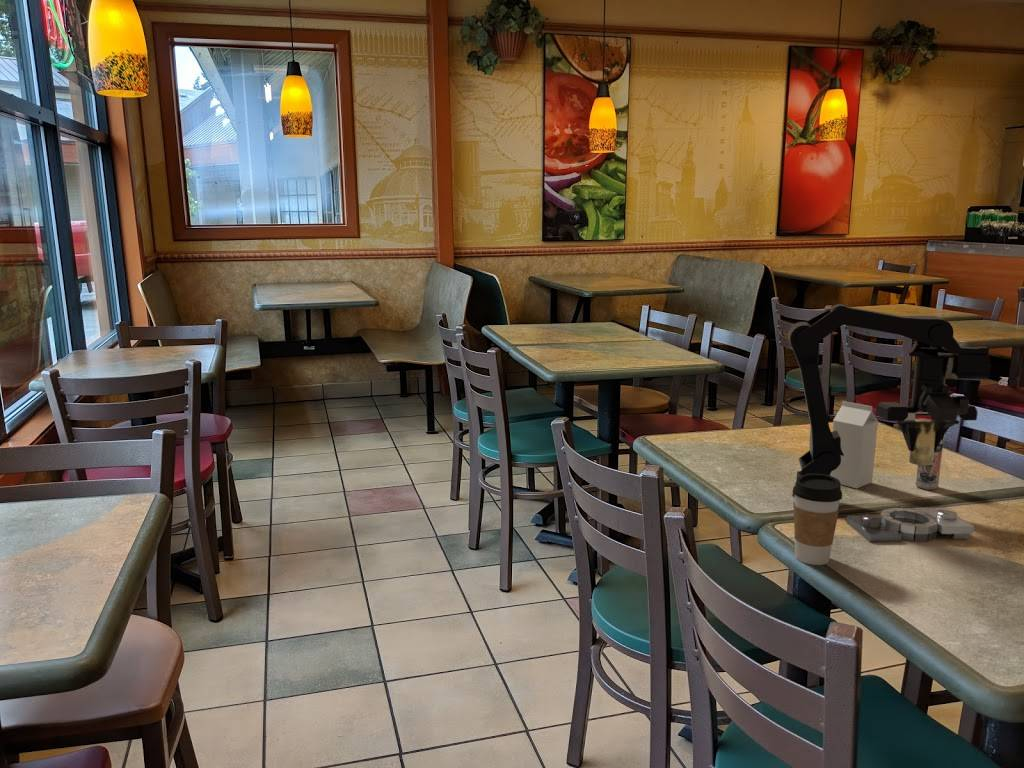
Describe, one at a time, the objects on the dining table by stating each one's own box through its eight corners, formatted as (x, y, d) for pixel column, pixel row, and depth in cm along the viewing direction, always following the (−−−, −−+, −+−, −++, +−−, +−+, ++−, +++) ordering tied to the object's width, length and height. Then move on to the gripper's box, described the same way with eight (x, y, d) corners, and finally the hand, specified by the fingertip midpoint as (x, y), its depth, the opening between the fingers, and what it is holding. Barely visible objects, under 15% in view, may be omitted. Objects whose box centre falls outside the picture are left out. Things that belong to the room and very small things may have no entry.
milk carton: (857, 489, 182) (864, 408, 178) (828, 481, 188) (834, 403, 184) (872, 483, 187) (879, 404, 183) (843, 475, 192) (850, 398, 188)
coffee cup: (843, 557, 146) (850, 479, 143) (826, 572, 140) (833, 491, 136) (798, 545, 151) (804, 469, 148) (780, 559, 145) (785, 480, 142)
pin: (915, 465, 165) (920, 423, 164) (905, 459, 170) (909, 418, 168) (936, 465, 166) (941, 423, 164) (925, 459, 170) (929, 418, 168)
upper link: (895, 541, 153) (897, 523, 152) (870, 522, 163) (872, 504, 162) (972, 540, 153) (974, 522, 152) (943, 521, 163) (945, 503, 162)
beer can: (914, 488, 183) (919, 438, 180) (914, 482, 187) (920, 433, 184) (937, 491, 181) (943, 440, 178) (938, 485, 185) (943, 435, 182)
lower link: (869, 542, 153) (871, 527, 152) (846, 522, 162) (847, 508, 162) (946, 541, 153) (948, 526, 152) (919, 521, 163) (920, 507, 162)
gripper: (905, 386, 156) (897, 462, 159) (998, 385, 156) (989, 461, 160) (877, 375, 167) (871, 447, 170) (965, 374, 167) (957, 446, 170)
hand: (921, 450), depth 167 cm, fingers closed on pin, 4 cm apart
